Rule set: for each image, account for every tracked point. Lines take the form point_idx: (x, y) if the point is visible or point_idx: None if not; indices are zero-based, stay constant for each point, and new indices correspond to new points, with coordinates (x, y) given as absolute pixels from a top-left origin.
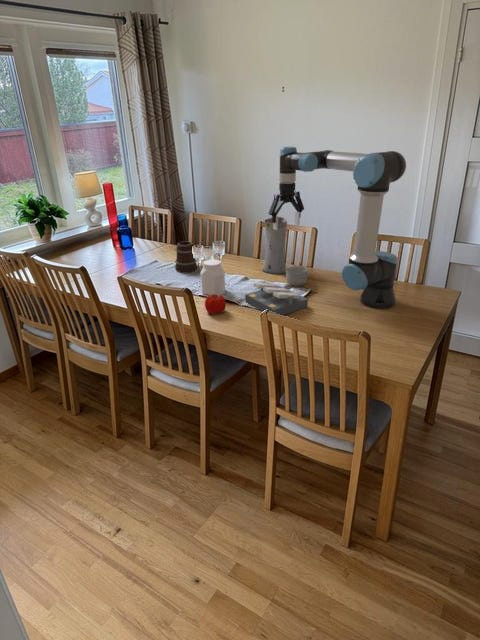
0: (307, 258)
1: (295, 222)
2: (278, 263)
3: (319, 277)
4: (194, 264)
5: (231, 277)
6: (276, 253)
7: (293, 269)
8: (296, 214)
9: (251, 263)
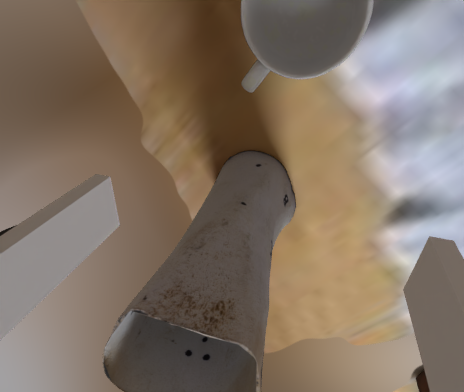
0: None
1: (102, 228)
2: (263, 178)
3: (170, 9)
4: None
5: None
6: (263, 208)
7: (279, 65)
8: (19, 287)
9: None
